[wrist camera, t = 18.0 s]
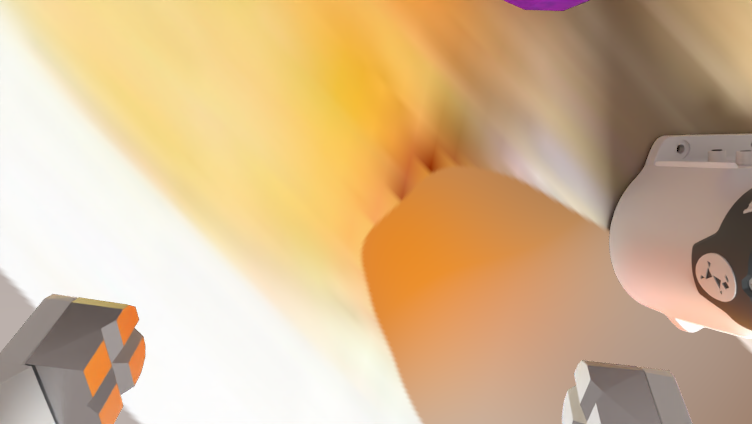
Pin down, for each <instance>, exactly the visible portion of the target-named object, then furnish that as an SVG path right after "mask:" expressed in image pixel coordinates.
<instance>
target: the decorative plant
mask: <svg viewBox="0 0 752 424" xmlns="http://www.w3.org/2000/svg"><path fill="white" fill-rule="evenodd" d="M504 1H506V2H508V3H511V4H513V5H515V6H518V7H520V8H522V9H525V10H553V11H564V10H566V9H569V8H571V7H574V6H576V5H579V4H581V3H584V2H587V1H589V0H504Z"/></svg>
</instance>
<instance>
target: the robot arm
mask: <svg viewBox="0 0 752 424" xmlns="http://www.w3.org/2000/svg"><path fill="white" fill-rule="evenodd" d="M677 146H679V151H678V152H677ZM609 248H610V257H611V262H612V266H613V269H614V272H615V274H616V277H617V278H618V280H619V282H620V284H621V285H622V287H623V288H624V290H625V291H626V292H627V293H628V294H629V295H630V296H631V297H632V298H633V299H635V300H636V301H637V302H639V303H640V304H642V305H644V306H646V307H648V308H651V309H654V310H657V311H659V312H661V313H663V314H665V315H666V316H667V317H668V319H669V320H670V321H671V322H672V323H673V324H674V325H675V326H676V327H677V328H679V329H680V330H683V331H687V332H696V331H698V330H700V329H702V328H704V327H706V328H710V329H713V330H717V331H721V332H724V333H728V334H732V335H735V336H739V337H743V338H752V133H748V134H705V135H665V136H661V137H659V138H658V139H657V140H656V141H655V142H654V144H653V146H652V148H651V150H650V152H649V155H648V157H647V160H646V163H645V166H644V167H643V169H642V170H641V172H640V173H639V174H638V176H637V177H636V178H635V179H634V180H633V181H632V182H631V184H630V185H629V186H628V187H627V189H626V190H625V192H624V193H623V195H622V197H621V198H620V200H619V202H618V204H617V207H616V209H615V212H614V215H613V218H612V222H611V227H610V236H609ZM138 321H139V317H138V314H137V310H136V307H134V306H131V305H126V304H120V303H113V302H106V301H100V300H93V299H86V298H80V297H79V298H77V297H70V296H64V295H57V294H52V295H51V296H49V297H47V298H45V299H44V300H43V301H42V302H41V304H40V305H39V306H38V307H37V308H36V310H35V311H34V312H33V313H32V315H31V316H30V317H29V318H28V319H27V321H26V322H25V323H24V324H23V326H22V327H21V328H20V329H19V330H18V332H17V333H16V334H15V335H14V337H13V338H12V339H11V340H10V342H9V343H8V344H7V345H6V346H5V348H4V349H3V350H2V351H1V353H0V424H114V423H115V421H116V419H117V417H118V415H119V413H120V412H121V410H122V408H123V402H122V398H121V394H123V393H124V392H126V391H128V390H129V389H131V388H132V387H134V386H135V384H136V382H137V380H138V378H139V376H140V374H141V372H142V368H143V364H144V360H145V342H144V337H143V336H142V335H141V334H140V333H139V332H138V331H137V330H136V329H135V326H136V324H137V323H138ZM574 376H575V382H576V385H575V386H574V387H572V388H570V389H569V390H568V391H567V394H566V397H565V400H564V403H563V412H562V424H693V423H692V421H691V418H690V415H689V413H688V410H687V408H686V405H685V403H684V400H683V397H682V395H681V392H680V389H679V387H678V384H677V382H676V379H675V376H674V375H673V374H672V373H671V372H670V371H669V370H662V369H652V368H645V367H637V366H630V365H620V364H611V363H602V362H594V361H585V360H582V361H581V362H580V363H579V364H578V365H577V368H576V370H575V373H574Z"/></svg>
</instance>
